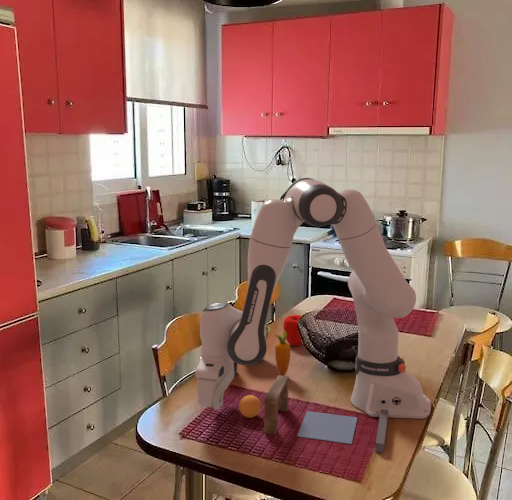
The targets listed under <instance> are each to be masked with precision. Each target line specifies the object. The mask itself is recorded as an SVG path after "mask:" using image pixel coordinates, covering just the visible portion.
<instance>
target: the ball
mask: <svg viewBox="0 0 512 500" xmlns="http://www.w3.org/2000/svg"><path fill="white" fill-rule="evenodd" d="M238 404H239V405H238V408H239V412H240V413H241V415H242V416H244V417H245V418H249V419H251V418H254V417H256V416H257V415H259V414H260V413H261V409H262V405H261V400H259V398H258V397H257V396H256V395H253V394H248V395H244V396H243V397H242V398H241V400H240V401H239V403H238Z"/></svg>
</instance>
